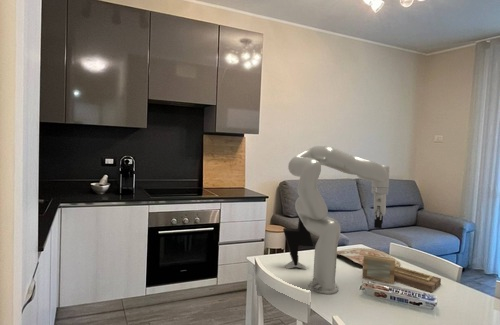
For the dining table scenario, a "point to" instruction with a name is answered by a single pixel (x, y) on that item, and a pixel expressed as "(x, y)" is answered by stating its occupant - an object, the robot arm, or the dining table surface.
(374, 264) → the wooden plaque
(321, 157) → the robot arm
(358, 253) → the poster
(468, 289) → the dining table surface
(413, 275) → the display stand
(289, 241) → the award
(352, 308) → the dining table surface
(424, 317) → the dining table surface
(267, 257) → the dining table surface
